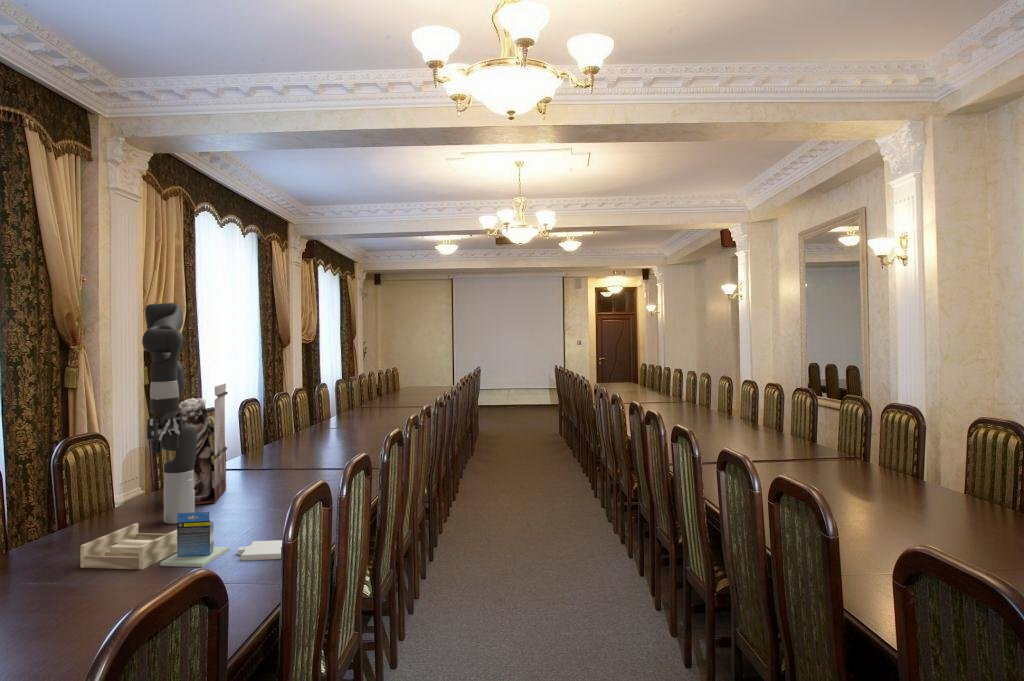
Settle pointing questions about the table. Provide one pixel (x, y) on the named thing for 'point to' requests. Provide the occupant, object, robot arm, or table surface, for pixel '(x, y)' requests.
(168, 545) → the wooden tray
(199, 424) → the cherub statue
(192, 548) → the label tape cartridge
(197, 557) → the pad
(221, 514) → the table surface
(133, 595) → the table surface
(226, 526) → the table surface
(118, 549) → the offcut stack
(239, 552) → the mounting plate
